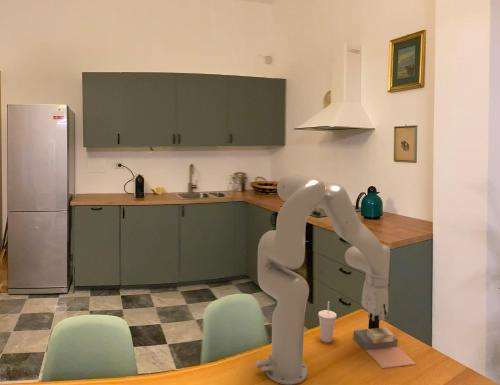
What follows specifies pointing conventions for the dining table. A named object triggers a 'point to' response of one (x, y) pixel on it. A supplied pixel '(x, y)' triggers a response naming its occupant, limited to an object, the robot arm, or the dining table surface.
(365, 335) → the plate
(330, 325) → the smoothie
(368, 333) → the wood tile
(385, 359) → the mat
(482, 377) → the dining table surface
